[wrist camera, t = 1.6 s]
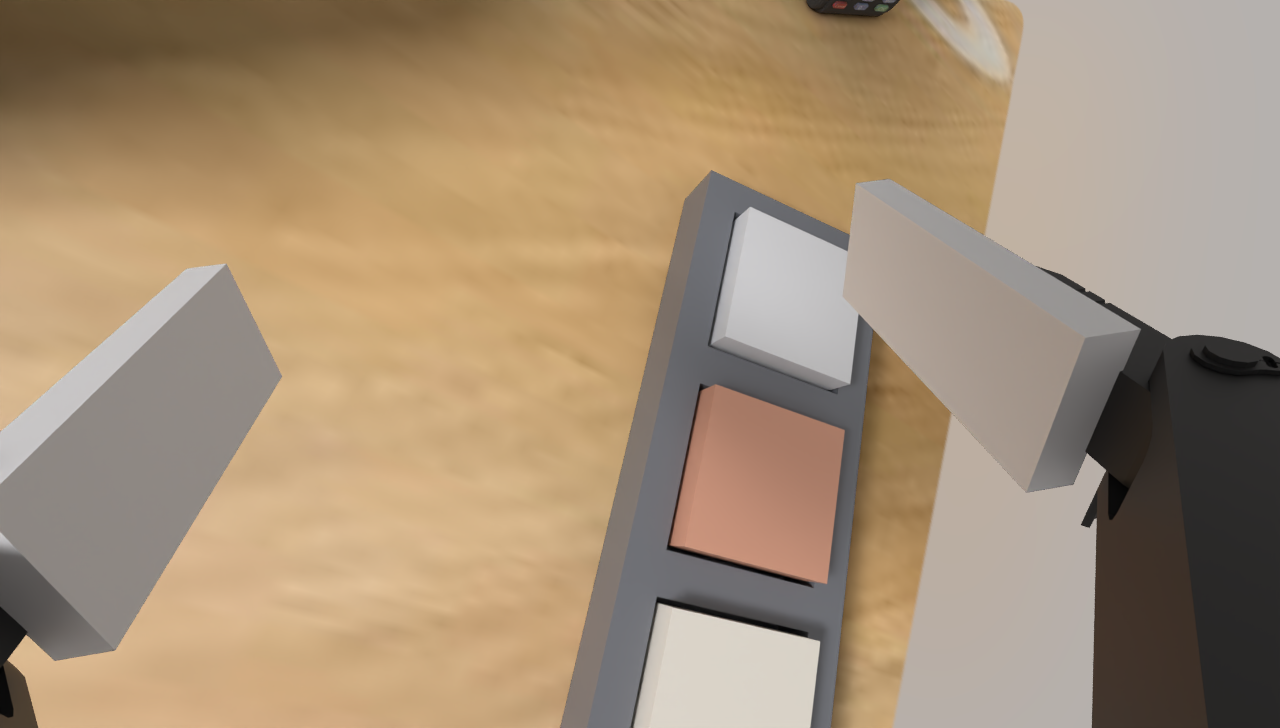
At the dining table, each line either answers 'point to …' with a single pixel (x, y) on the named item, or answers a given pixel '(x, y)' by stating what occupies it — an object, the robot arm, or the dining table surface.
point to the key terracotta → (758, 486)
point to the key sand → (723, 674)
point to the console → (653, 469)
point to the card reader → (853, 6)
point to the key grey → (785, 302)
